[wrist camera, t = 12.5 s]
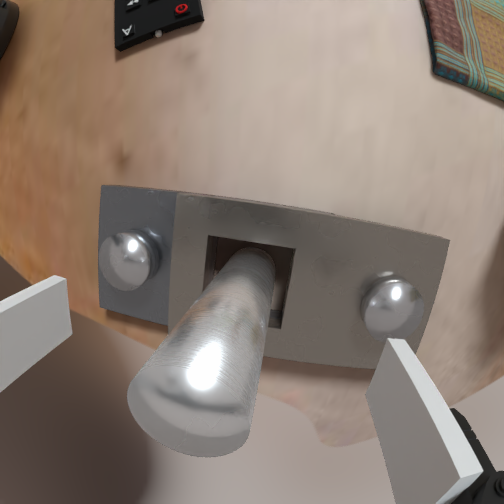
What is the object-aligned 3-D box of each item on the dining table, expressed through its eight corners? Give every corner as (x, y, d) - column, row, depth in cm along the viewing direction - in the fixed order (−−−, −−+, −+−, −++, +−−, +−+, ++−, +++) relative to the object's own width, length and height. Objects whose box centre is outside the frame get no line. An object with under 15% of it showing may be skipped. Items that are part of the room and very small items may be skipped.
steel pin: (225, 289, 22) (133, 437, 7) (230, 243, 21) (121, 351, 7) (271, 297, 22) (241, 466, 7) (279, 251, 21) (259, 384, 6)
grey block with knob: (181, 319, 23) (160, 346, 19) (192, 192, 21) (167, 194, 16) (397, 351, 21) (414, 381, 17) (431, 233, 19) (460, 244, 15)
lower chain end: (108, 301, 24) (86, 316, 20) (111, 184, 21) (86, 185, 18) (305, 342, 22) (308, 366, 19) (332, 213, 20) (341, 218, 16)
